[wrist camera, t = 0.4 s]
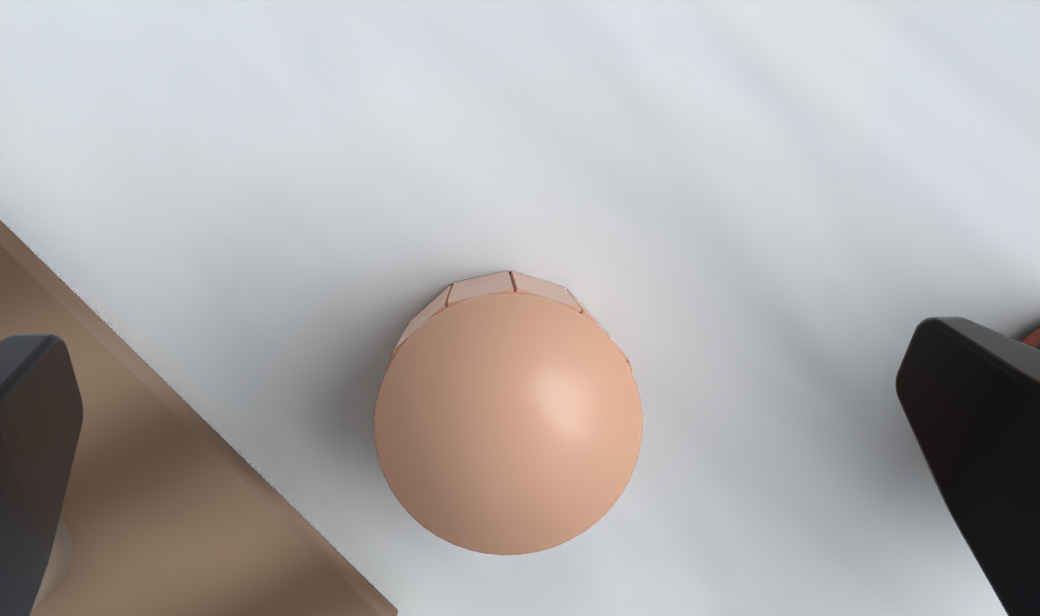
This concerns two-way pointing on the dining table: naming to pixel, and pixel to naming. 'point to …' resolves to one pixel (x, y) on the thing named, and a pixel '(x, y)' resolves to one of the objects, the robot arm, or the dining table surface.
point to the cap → (507, 416)
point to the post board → (163, 491)
